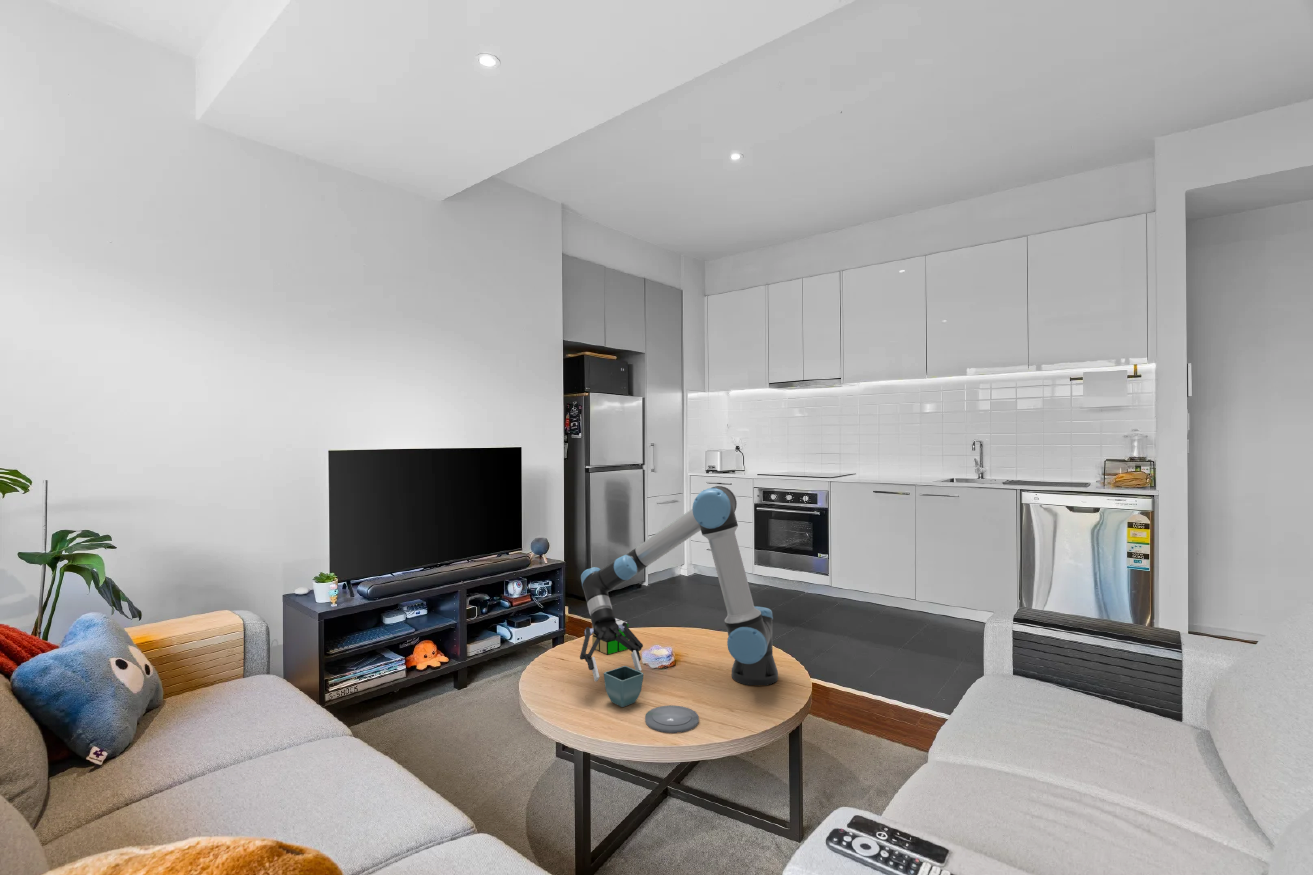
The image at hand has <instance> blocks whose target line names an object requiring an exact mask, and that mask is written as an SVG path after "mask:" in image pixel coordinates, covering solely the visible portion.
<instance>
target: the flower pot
mask: <svg viewBox="0 0 1313 875" xmlns="http://www.w3.org/2000/svg"><path fill="white" fill-rule="evenodd" d="M603 679H604V680H603V681H604V688H605V692H606V694H607V697H608V699H609V700H610V701H611V703H613V704H615V705H617V706H619V707H621V708H624V707H627V706H629V705H632V704H635V702H637V700H638V698H639V697H640V694H641V691H642V687H643V681H644V673H643V672H642V671H641V672H639V671H637V670H635V668H631V667H630V666H627V665H623V666H620V667H616V668H614V669H610V670H608V671H605V672H603Z"/></svg>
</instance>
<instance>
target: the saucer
mask: <svg viewBox="0 0 1313 875" xmlns="http://www.w3.org/2000/svg"><path fill="white" fill-rule="evenodd" d="M644 722H645V724H646V725H647V727H648V728H650V729H651V730H653V731H656V732H659V733H666V734H678V733H677V732H681V733H685V732H689V731H691V729H692V730H693V729H695V728H696V727H698V725H699V722H700V716H699V714H698V713H697V712H696V711H695V710H693V709H692V708H689V707H687V706H682V705H681V706H680V705H672V704H671V705H662V706H657V707H653V708H651V709H650V710H648V711H647V712H646V713H645V715H644Z"/></svg>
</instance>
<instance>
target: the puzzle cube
mask: <svg viewBox="0 0 1313 875" xmlns="http://www.w3.org/2000/svg"><path fill="white" fill-rule="evenodd" d="M615 619H616V623H617V624H618V625H621V624H623V622H626V621H624V620H622V619H619V618H616V617H615ZM626 624H627V626H628V627H629V623H628V622H626ZM591 625H592V624H591ZM591 627H592V628H593V625H592V626H591ZM618 631H619V632H620V633H621V634H622V635H623V636H624V637H626V636H625V635H624V633H623V631H622V632H621V630H620V629H618ZM616 636H617V635H616ZM591 638H592V639H591V640H592V644H591V647H592V646H593V644H594V642H595V640H596V639H597V636H596V635H595V634H594V633H592V634H591ZM626 638H627V637H626ZM627 639H628V638H627ZM628 640H629V639H628ZM626 650H628V649H627V648H626V647H625V646H623V645H622V644H621V643H620V642H618V641H616V640H614V639H613V640H611V641H610V640H607V641H604V642H603V641H602V640H600V642H599V643H598V645H597V647H596V649H595V651H598V652H599V653H602V654H604V655H607V656H608V655H612V654H616V653H618V652H623V651H626Z"/></svg>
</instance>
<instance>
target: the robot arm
mask: <svg viewBox="0 0 1313 875" xmlns="http://www.w3.org/2000/svg"><path fill="white" fill-rule="evenodd" d="M737 504H738V503H737V497H736V495H735V494H734V492H733V491H732V490H730V488H727V487H725V486H723V485H716V486H712V487H709V488H706V489H703V490H701V491H700V492H698V494H697V495H696V497H695V498H694V500H693V502H692V508H691V509H690V510H689V511H687V512H685V513H684V514H682V515H681V516H680V517H678V518H677V519H676V520H673V521H672V522H671V523H670V524H668V525H667V526H665V527H664V528H662V529H661V530H660V531H658V532H657V533H655V534H653V535H652V536H651V537H649V538H648V539H646V540H644V541H643V542H642V543H640V544H639V545H638V546H636V547H635V548H633V549H632V550H631V551H629V552H628V553H625V554H624V555H622V556H620V557H618V558H615V560H613V561H612V562H610V563H608V564H607V565H606V566H604V567H603V568H602V569H601V568H599V567H597V566H595V567H594V566H592V567H591V568H587V569H585V570H584V571H583V572H582V573H581V575H580V580H581V587H582V591H583V594H584V596H585V601H586V605H587V610H588V613H589V616H590V621H591V625H593V628H590V626H586V627H585V630H584V632H583V633H584V640H583V642H582V643H583V644H582V648H581V651H580V654H579V659H580V660H581V661H583V660H584V661H585V662H586V663H587V667H588V670H589V671H591V672H592V674H593V680H594V682H598V681H599V679H600V674H599V670H598V665H597V661H596V658H595V656H593V654H594V653H595V651H596V647H597V645H598V643H599V642H600V640H602V641H603V642H604V641H607V640H610V641H611V640H613V639H614V640H616V641H618V642H620V643H621V644H622V645H623V646H625V647H626V648H627V650H629V651H630V652H631V654H630V655H631V659H632V663H633V667H634V669H635V670H637V671H639V672H642V670H643V669H642V667H641V661H642V660H641V659H642V657H641V655H640V652H641V651H642V649H643V647H644V644H643V643H642V642H641V641H640V640H639V638H638V637H637V636H636V635H635V633H633V631H632V630H631V629H630V628H629V625H628V626H627V624H626V621H624V622H623V624H621V625H618V624H617V623H616V619H617V618H616V616H615V614H614V613H615V612H614V610H613V605H612V602H611V598H610V594H609V592H611V591H612V590H613V589H615V588H617V587H618V586H620V585H622V584H624V583H625V582H627V581H629V580H631V579H632V578H633V577H634V576H636V575H637V574H639V573H640V572H642V571H643V570H645V569H646V568H647V567H649V566H650V565H651V564H653V563H655V562H656V561H657V560H659V559H660V558H662V557H663V556H664V555H667V554H668V553H669V552H670V551H672V550H674V549H675V548H676V547H678V546H680V545H681V544H683V543H684V542H685V541H687V540H689V539H690V538H692V537H693V536H694V535H696V534H698V533H699V532H701V535H702V536H703V537H704V538H706V539H707V540H708V543H709V547H710V551H711V554H712V559H713V562H714V567H715V570H716V575H717V579H718V582H719V585H720V589H721V593H722V596H723V597H722V598H723V602H724V605H725V609H726V612H727V615H726V617H725V618H724V625H725V628H726V633H727V636H728V637H727V643H726V644H727V645H726V646H727V650H728V653H729V654H730V655H731V657H732V658H733V659H734V660H733V663H732V668H731V678H732V680H734V681H735V682H737V683H739V684H742V685H745V686H746V685H747V686H751V685H765V686H770V685H772V683H773V684H775V683H777V681H778V679H779V672H778V668H777V664H776V662H775V659H774V658H775V657H774V654H773V620H774V616H773V611H772V610H771V609H770V608H768V607H763V606H755V604H754V600H753V597H752V596H753V595H752V593H751V589H750V585H749V581H748V577H747V574H746V570H745V566H744V562H743V559H742V556H741V551H740V548H739V543H738V539H737V536H736V530H737V528H738V527H739V525H738V521H737V516H736V509H737V506H738V505H737ZM615 618H616V619H615ZM618 629H620V630H621V632H622V631H623V633H624V635H625V636H626V637H627V638H628V639H629V640H628V639H627V638H626V637H624V636H623V635H622V634H621V633H620V632H619V631H618ZM592 633H594V634H595V635H596V636H597V639H596V640H595V642H594V644H593V646H592V645H591V648H590V650H589V652H588V653H587V649H588V645H589V641H590V638H591V637H592V635H593V634H592ZM616 635H617V636H616ZM774 682H775V683H774ZM769 684H770V685H769Z"/></svg>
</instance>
